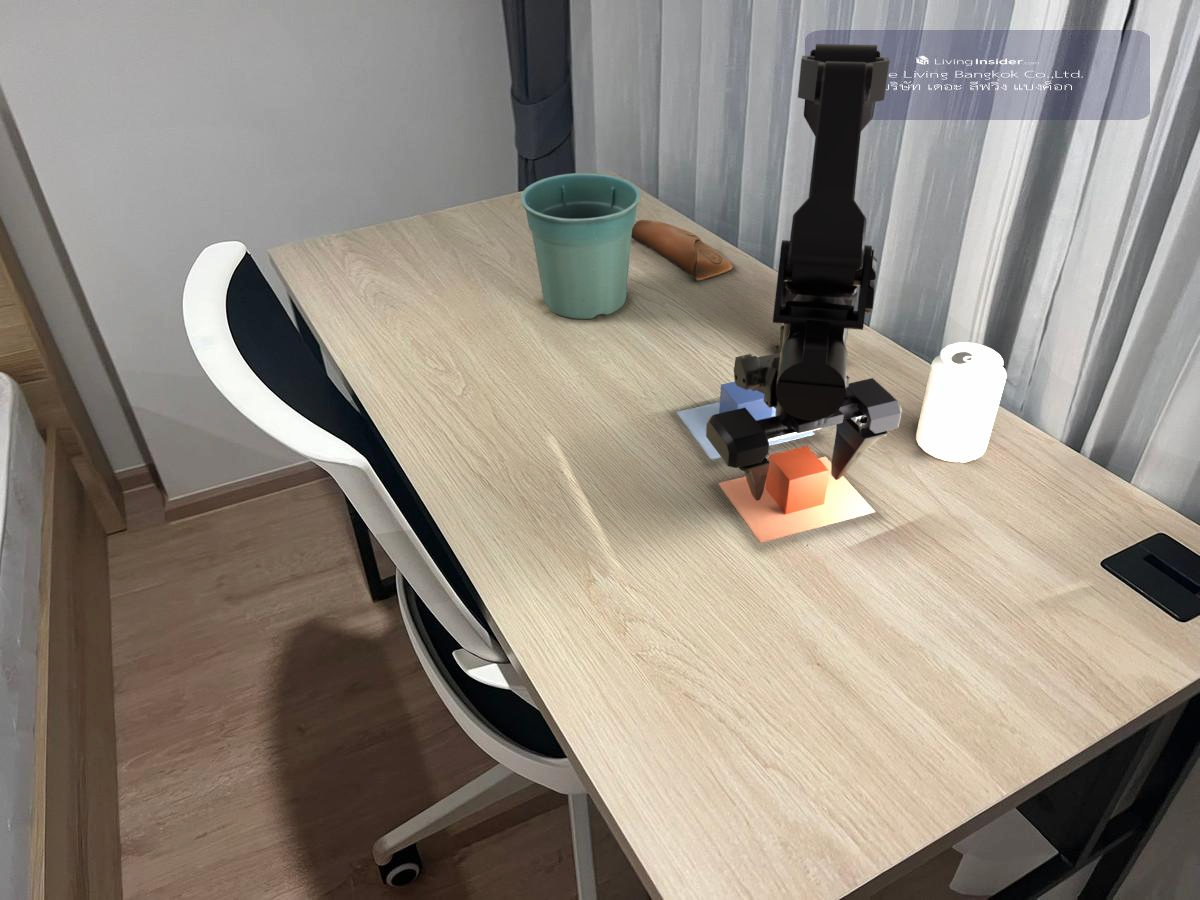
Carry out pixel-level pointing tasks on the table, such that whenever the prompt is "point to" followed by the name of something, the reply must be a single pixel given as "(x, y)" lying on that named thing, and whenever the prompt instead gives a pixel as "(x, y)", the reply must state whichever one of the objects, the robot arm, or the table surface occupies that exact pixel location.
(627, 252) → the flower pot
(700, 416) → the blue mat
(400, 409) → the table surface
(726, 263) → the sunglasses case
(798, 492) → the terracotta block
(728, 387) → the blue block
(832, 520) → the terracotta mat
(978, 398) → the can
